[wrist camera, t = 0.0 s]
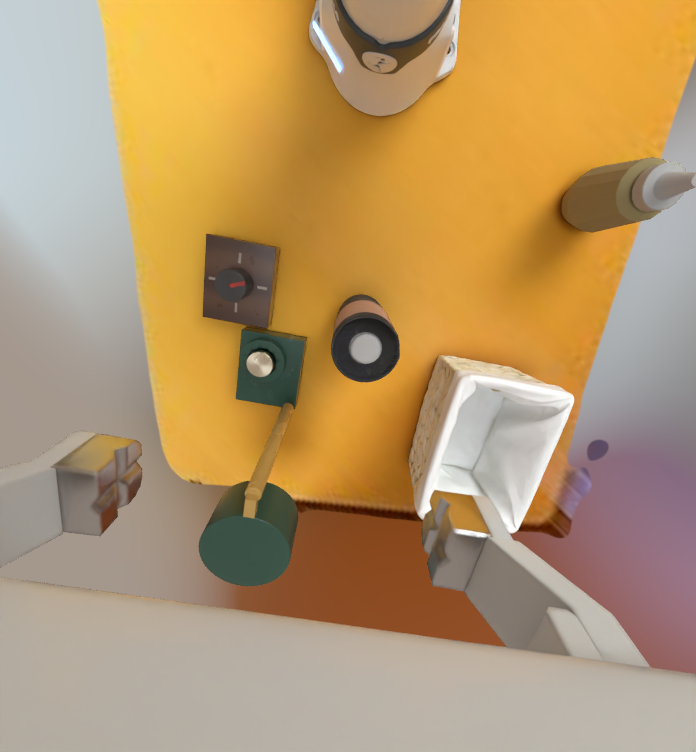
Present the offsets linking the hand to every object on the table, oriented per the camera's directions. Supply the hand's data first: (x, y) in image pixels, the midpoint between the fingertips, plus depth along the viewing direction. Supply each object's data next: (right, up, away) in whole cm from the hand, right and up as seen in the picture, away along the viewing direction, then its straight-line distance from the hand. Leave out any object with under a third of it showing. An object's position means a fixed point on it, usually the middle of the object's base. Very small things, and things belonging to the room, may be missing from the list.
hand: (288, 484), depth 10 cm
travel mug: (+4, +13, +47) cm, 48 cm away
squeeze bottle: (+35, +28, +41) cm, 61 cm away
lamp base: (-11, +5, +49) cm, 51 cm away
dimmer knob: (-15, +17, +42) cm, 47 cm away
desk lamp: (-9, -7, +49) cm, 50 cm away
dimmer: (-15, +18, +45) cm, 50 cm away
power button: (-12, +5, +45) cm, 47 cm away
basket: (+22, -4, +52) cm, 57 cm away
